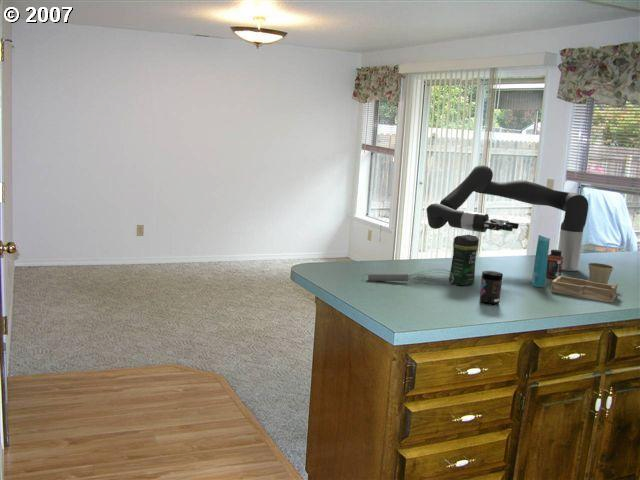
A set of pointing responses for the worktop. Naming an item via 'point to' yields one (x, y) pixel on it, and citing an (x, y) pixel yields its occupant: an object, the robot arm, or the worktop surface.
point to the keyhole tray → (584, 289)
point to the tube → (541, 262)
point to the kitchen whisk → (401, 277)
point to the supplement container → (491, 287)
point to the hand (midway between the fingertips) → (515, 227)
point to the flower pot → (599, 272)
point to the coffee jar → (464, 259)
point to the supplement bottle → (554, 264)
